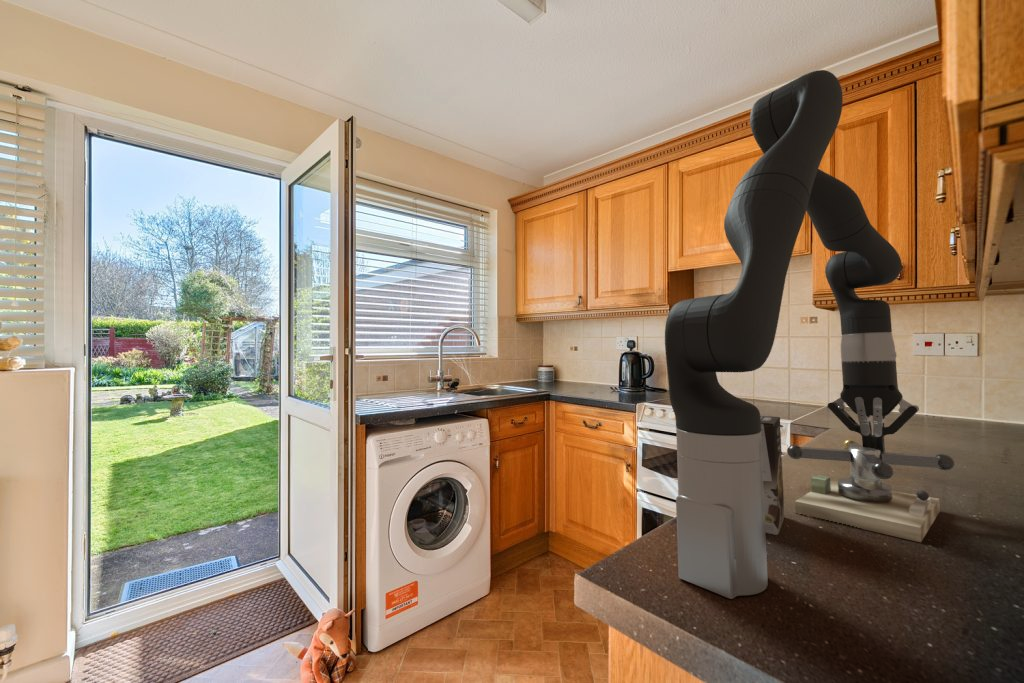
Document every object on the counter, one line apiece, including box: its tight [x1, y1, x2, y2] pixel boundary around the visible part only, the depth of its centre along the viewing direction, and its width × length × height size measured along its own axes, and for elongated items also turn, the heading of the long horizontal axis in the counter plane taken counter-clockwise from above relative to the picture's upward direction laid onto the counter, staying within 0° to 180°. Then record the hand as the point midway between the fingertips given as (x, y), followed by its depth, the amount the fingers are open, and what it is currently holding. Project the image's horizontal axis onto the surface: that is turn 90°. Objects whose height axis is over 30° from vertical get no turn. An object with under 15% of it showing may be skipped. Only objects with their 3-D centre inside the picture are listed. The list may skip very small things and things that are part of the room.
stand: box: [794, 474, 941, 543], centre depth 70 cm, size 18×15×4 cm
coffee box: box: [760, 415, 785, 536], centre depth 68 cm, size 9×6×16 cm
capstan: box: [786, 438, 956, 502], centre depth 71 cm, size 22×22×8 cm
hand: (874, 457), depth 76 cm, fingers closed
